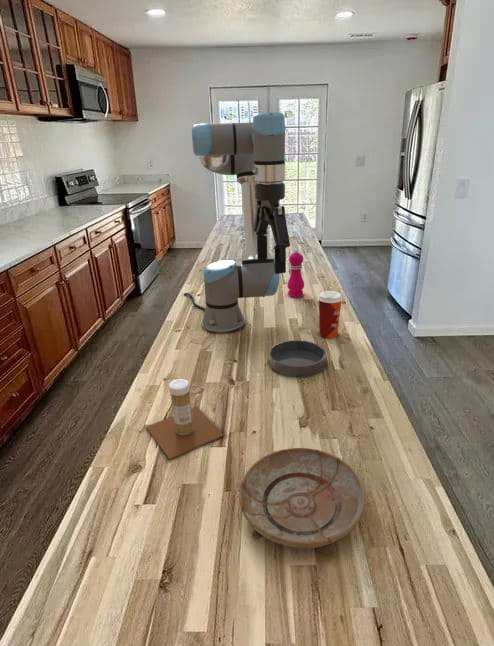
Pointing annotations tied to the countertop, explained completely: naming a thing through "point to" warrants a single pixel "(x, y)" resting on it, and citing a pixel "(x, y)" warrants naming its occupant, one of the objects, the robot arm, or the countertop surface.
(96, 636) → the countertop surface
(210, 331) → the robot arm
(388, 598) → the countertop surface
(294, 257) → the pepper mill
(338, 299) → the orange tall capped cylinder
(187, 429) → the sprinkles bottle
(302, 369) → the pan
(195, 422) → the cork mat
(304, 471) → the ceramic bowl
